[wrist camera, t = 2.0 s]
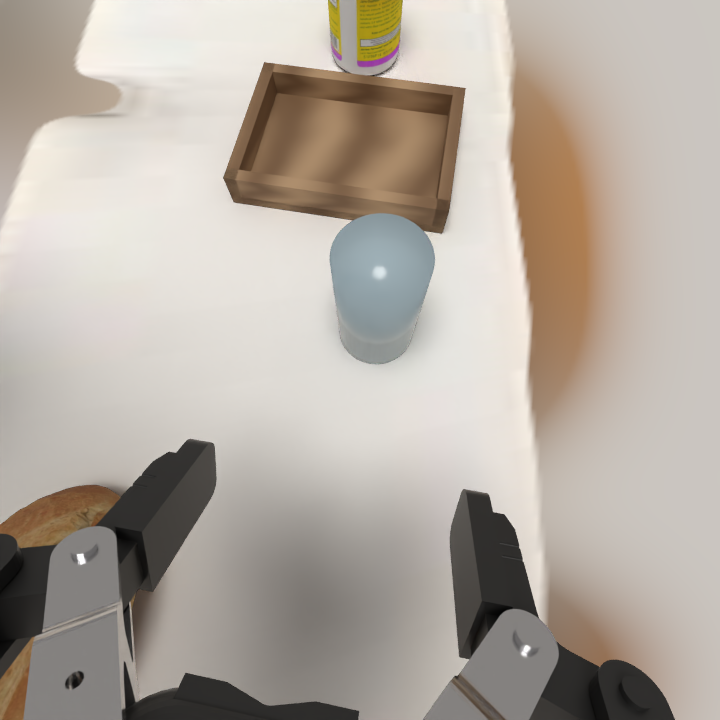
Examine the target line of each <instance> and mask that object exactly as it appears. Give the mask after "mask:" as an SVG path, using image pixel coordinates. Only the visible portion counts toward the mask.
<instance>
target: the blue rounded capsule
mask: <svg viewBox="0 0 720 720" xmlns="http://www.w3.org/2000/svg"><path fill="white" fill-rule="evenodd" d="M434 265H435V255H434V250H433V246H432V244H431V241H430V240H429V238H428V236H427V235H426V234H425V232H424V231H423V230H422V229H421V228H420V227H419V226H417V225H416V224H415V223H413V222H412V221H410V220H408V219H406V218H404V217H401V216H398V215H393V214H386V213H376V214H369V215H365V216H362V217H359V218H357V219H355V220H353V221H352V222H350V223H349V224H347V225H346V226H345V227H344V228H343V229H342V230H341V231H340V232H339V233H338V235H337V236H336V238H335V239H334V242H333V244H332V247H331V251H330V266H331V273H332V281H333V288H334V295H335V303H336V310H337V317H338V325H339V332H340V338H341V341H342V343H343V345H344V347H345V349H346V350H347V351H348V352H349V353H350V354H351V355H352V356H353V357H355V358H356V359H358V360H360V361H362V362H365V363H369V364H383V363H387V362H390V361H393V360H395V359H396V358H398V357H399V356H400V355H402V354H403V353H404V352H405V350H406V349H407V347H408V346H409V344H410V341H411V338H412V335H413V332H414V329H415V326H416V323H417V320H418V317H419V313H420V310H421V307H422V304H423V301H424V298H425V295H426V292H427V289H428V286H429V282H430V279H431V276H432V273H433V270H434Z"/></svg>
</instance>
